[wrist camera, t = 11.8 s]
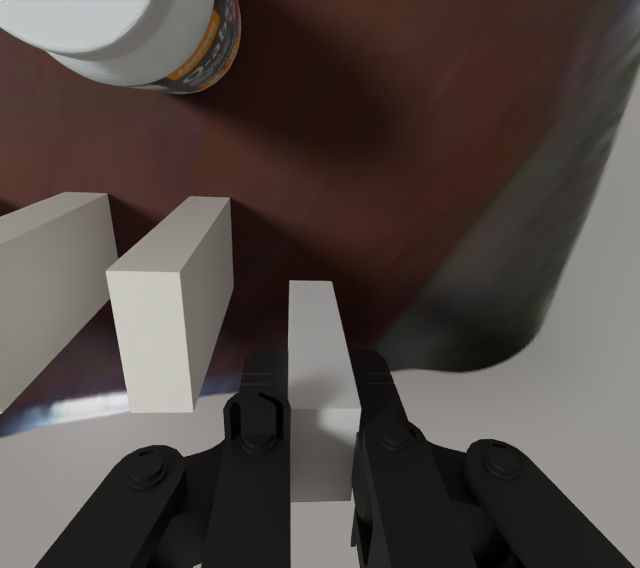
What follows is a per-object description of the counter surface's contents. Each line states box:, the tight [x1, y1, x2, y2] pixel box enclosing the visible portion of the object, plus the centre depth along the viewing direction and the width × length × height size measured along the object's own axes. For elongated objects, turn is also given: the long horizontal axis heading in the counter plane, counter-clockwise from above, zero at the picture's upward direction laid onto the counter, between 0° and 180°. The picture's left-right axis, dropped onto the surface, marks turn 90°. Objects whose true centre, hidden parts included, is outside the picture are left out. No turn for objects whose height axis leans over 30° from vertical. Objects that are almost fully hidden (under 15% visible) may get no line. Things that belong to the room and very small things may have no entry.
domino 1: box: [0, 192, 118, 414], centre depth 16 cm, size 2×5×10 cm, turn 176°
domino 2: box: [106, 196, 234, 413], centre depth 17 cm, size 2×5×10 cm, turn 177°
